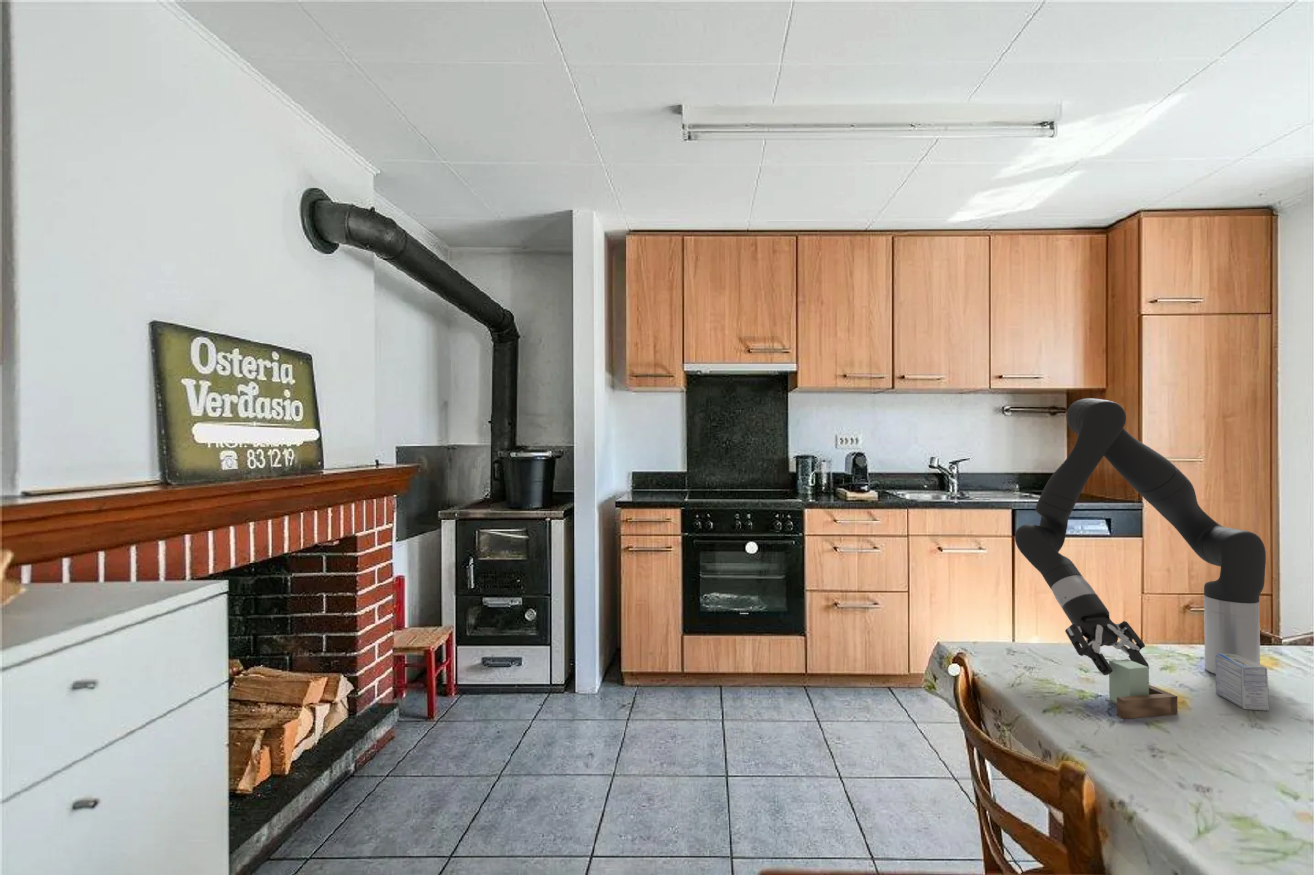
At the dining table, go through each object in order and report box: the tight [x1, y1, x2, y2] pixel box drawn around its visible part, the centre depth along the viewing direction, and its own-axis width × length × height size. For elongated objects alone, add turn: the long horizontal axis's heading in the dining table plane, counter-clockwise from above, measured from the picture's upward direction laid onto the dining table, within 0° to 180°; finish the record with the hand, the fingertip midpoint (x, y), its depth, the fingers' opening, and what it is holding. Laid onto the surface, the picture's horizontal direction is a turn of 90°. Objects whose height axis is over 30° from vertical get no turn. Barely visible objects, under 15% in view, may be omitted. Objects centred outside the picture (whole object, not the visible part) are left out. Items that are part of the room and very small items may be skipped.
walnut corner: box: [1105, 684, 1179, 720], centre depth 123 cm, size 12×12×4 cm
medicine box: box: [1215, 654, 1270, 712], centre depth 123 cm, size 8×4×9 cm, turn 168°
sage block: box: [1108, 658, 1150, 703], centre depth 123 cm, size 4×4×8 cm
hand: (1127, 672), depth 123 cm, fingers open, 8 cm apart
